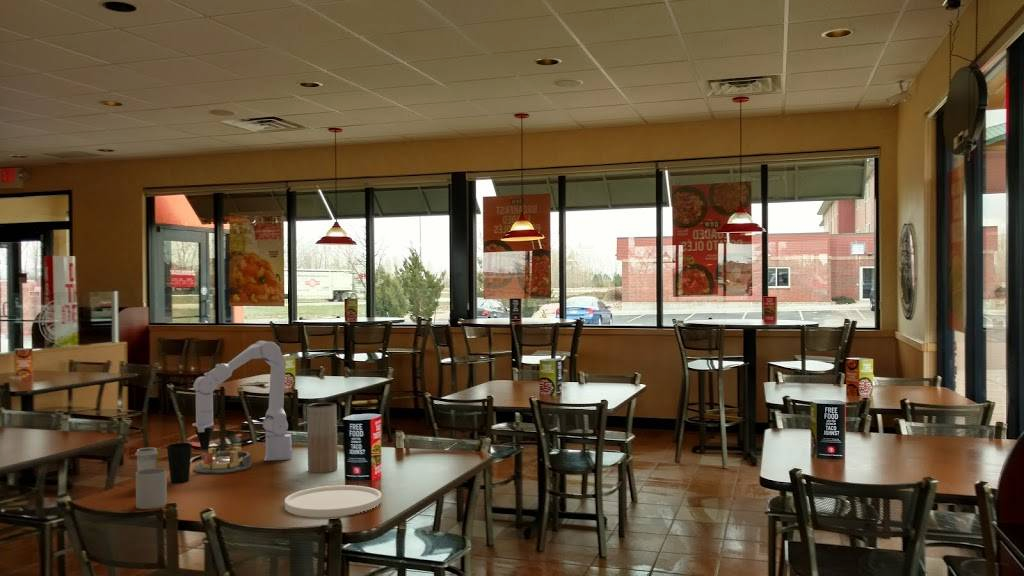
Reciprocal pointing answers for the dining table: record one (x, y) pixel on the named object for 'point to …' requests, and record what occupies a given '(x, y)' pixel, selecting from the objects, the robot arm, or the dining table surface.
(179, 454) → the cup
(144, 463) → the cup
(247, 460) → the round serving tray
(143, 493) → the cup
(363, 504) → the plate
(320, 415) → the planter
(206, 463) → the ring nut
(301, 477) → the dining table surface
